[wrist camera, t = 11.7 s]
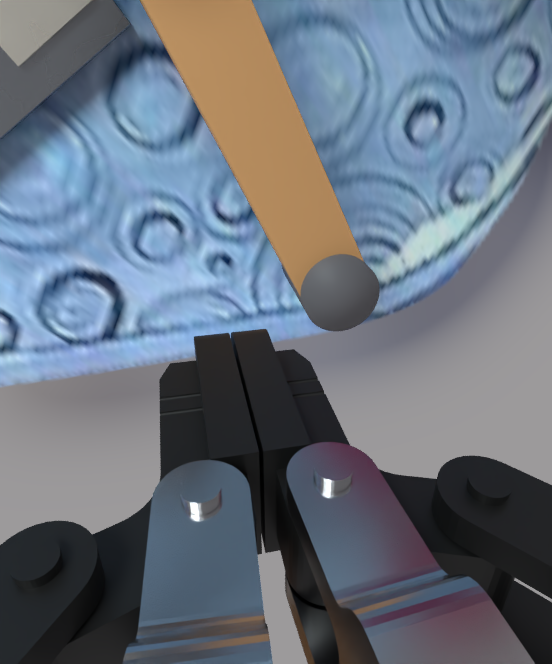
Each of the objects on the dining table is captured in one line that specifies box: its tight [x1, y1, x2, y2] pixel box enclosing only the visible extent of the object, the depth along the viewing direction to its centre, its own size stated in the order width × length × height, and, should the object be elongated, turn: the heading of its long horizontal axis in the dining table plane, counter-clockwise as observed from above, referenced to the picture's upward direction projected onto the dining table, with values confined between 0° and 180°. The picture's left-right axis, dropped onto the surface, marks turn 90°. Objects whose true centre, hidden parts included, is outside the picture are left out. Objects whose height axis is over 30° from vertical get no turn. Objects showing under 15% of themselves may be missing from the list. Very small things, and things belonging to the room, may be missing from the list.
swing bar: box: [140, 0, 379, 331], centre depth 19 cm, size 16×3×4 cm, turn 27°
